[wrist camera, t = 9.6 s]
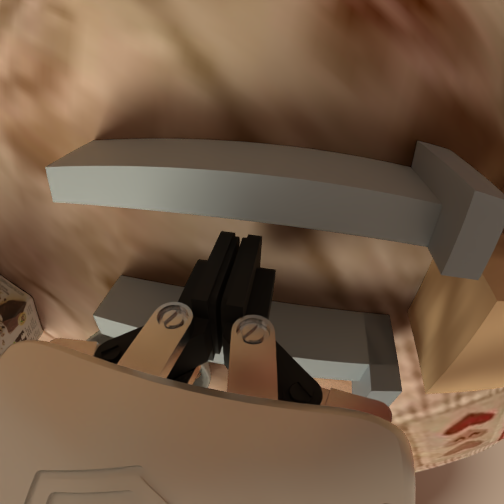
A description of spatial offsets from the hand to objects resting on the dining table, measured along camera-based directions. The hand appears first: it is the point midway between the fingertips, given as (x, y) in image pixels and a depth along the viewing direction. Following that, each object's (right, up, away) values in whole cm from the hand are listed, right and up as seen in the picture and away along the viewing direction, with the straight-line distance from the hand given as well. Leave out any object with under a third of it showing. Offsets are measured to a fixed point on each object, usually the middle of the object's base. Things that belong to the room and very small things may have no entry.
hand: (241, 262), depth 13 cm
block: (+13, -1, 0) cm, 13 cm away
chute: (0, +1, +2) cm, 2 cm away
